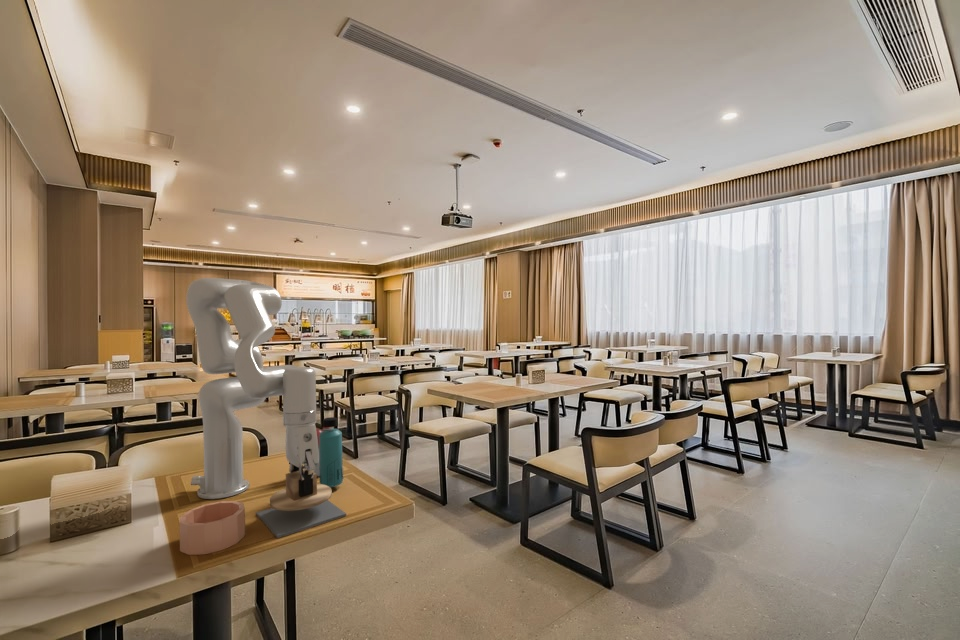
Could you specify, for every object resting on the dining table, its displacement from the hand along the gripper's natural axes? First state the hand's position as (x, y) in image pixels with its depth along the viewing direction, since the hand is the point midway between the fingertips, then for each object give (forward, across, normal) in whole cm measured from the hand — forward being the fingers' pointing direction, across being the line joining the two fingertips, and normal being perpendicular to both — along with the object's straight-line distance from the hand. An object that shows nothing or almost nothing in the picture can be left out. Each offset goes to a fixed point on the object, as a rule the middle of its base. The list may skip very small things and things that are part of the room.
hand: (301, 491), depth 108 cm
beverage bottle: (+6, +12, -13) cm, 18 cm away
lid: (+2, 0, 0) cm, 2 cm away
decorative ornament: (+6, +26, -14) cm, 31 cm away
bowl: (+6, +1, +19) cm, 20 cm away
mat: (+6, 0, 0) cm, 6 cm away
